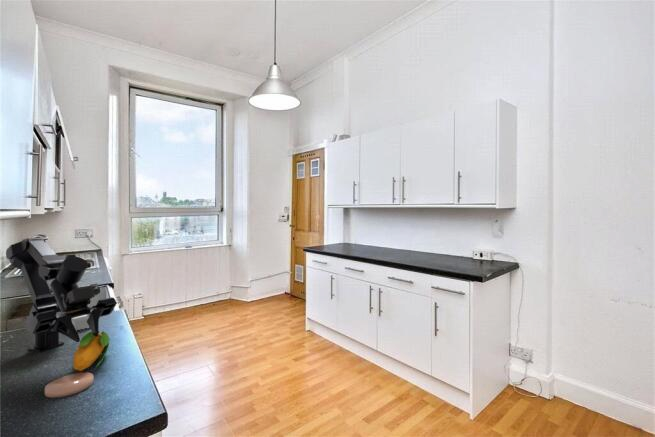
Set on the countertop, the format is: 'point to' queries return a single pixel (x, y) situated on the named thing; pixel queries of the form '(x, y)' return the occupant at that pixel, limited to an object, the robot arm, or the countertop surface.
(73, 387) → the pink flat disc
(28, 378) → the countertop surface
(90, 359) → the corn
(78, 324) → the small box
